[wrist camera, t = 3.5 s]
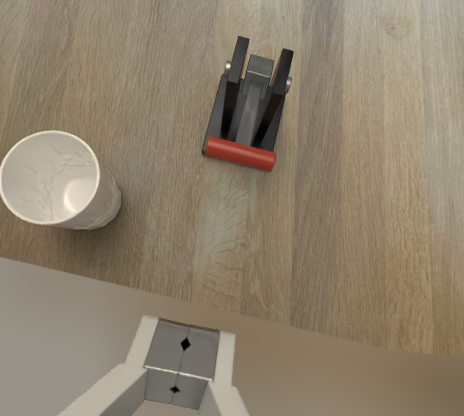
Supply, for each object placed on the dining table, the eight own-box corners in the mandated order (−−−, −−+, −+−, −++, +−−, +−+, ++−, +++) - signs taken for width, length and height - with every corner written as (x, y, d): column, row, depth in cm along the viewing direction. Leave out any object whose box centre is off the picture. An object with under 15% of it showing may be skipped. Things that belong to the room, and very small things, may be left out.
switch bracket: (267, 170, 39) (294, 130, 27) (201, 154, 38) (200, 106, 27) (284, 95, 40) (316, 27, 29) (221, 78, 40) (229, 3, 29)
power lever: (267, 180, 24) (277, 158, 22) (202, 163, 24) (206, 140, 22) (281, 86, 31) (289, 64, 30) (231, 73, 31) (235, 49, 29)
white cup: (45, 228, 35) (-16, 214, 26) (64, 159, 37) (14, 121, 27) (118, 241, 36) (85, 232, 26) (134, 173, 37) (109, 140, 27)
